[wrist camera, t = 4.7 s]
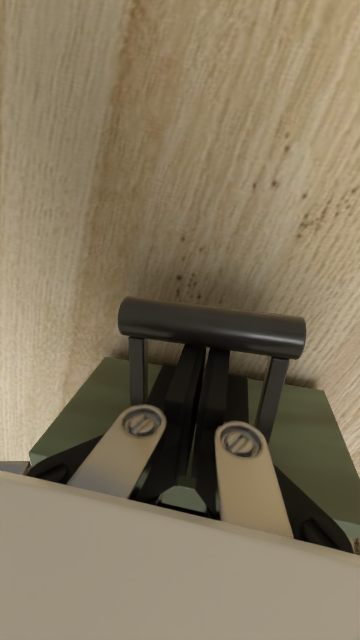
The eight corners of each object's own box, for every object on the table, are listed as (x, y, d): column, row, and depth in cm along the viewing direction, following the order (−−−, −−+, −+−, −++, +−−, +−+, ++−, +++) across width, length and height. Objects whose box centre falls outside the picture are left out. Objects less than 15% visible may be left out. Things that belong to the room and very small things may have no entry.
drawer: (98, 258, 15) (-9, 311, 8) (359, 284, 13) (472, 378, 7) (116, 506, 23) (70, 623, 17) (272, 544, 22) (285, 689, 15)
